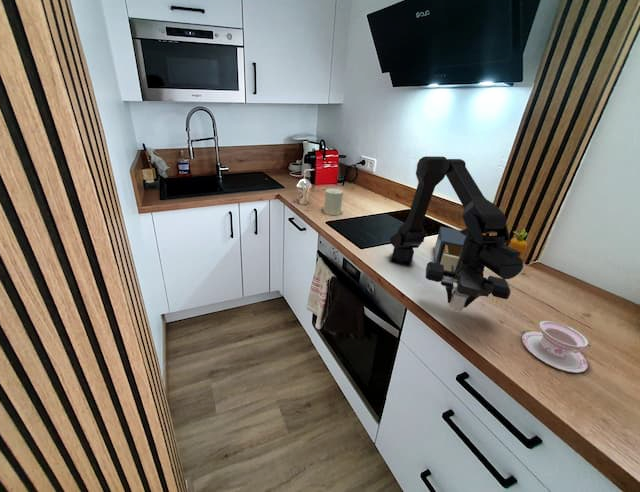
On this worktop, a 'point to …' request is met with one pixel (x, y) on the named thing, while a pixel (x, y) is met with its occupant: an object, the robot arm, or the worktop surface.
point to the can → (333, 201)
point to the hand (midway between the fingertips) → (456, 304)
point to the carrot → (519, 242)
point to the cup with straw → (304, 189)
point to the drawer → (450, 256)
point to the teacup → (558, 346)
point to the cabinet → (447, 240)
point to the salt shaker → (457, 301)
